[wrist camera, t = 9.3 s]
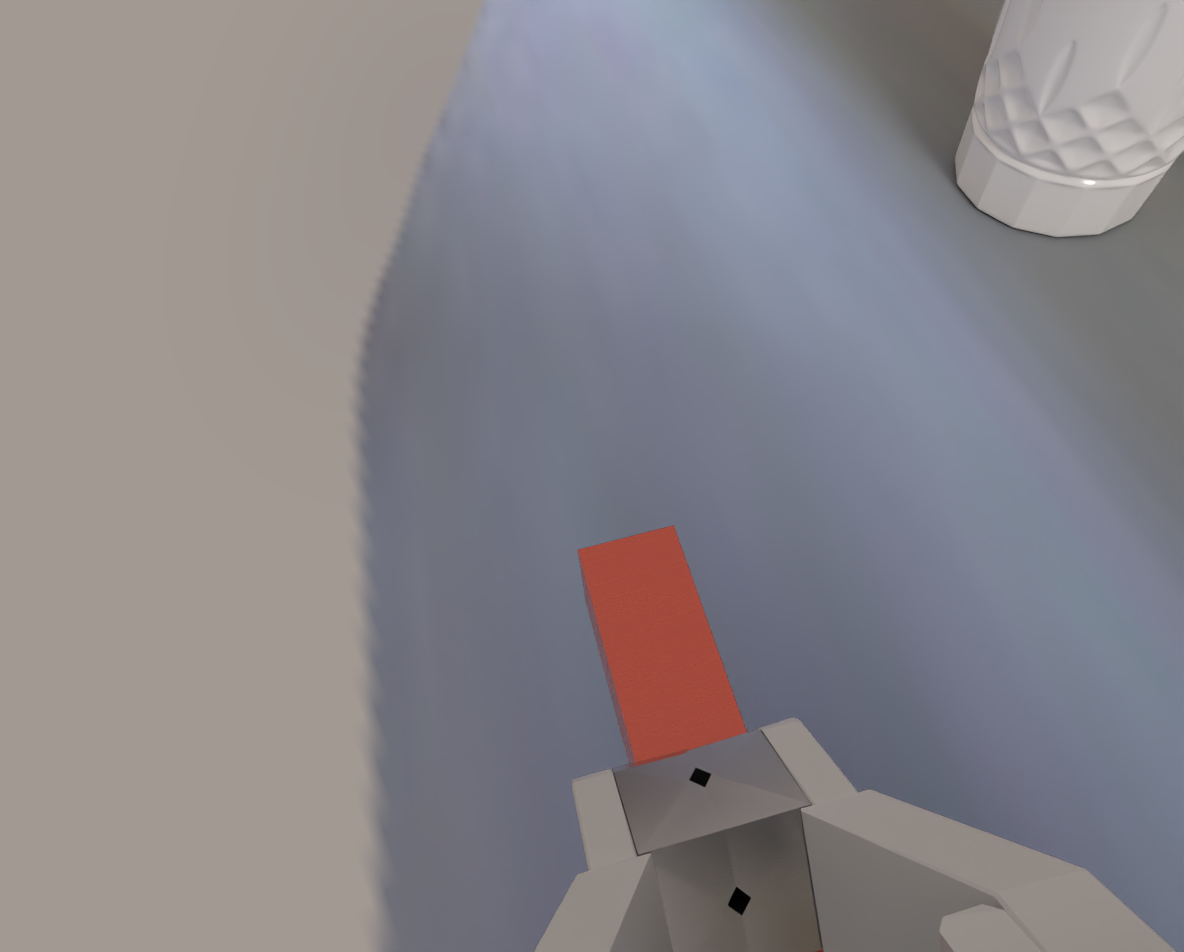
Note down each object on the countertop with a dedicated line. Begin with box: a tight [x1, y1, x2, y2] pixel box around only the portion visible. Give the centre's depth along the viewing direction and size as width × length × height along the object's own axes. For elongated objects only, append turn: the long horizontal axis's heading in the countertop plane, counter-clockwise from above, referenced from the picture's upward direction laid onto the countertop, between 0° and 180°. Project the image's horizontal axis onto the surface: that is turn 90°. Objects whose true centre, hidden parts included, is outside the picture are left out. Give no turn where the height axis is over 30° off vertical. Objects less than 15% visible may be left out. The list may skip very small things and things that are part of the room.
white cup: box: [955, 0, 1184, 237], centre depth 24 cm, size 8×8×10 cm
